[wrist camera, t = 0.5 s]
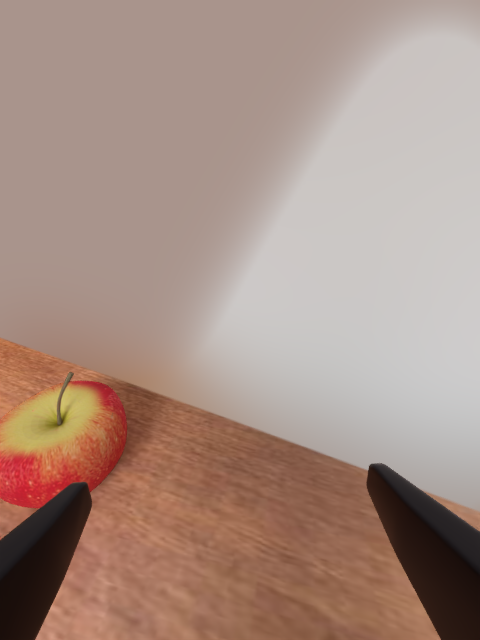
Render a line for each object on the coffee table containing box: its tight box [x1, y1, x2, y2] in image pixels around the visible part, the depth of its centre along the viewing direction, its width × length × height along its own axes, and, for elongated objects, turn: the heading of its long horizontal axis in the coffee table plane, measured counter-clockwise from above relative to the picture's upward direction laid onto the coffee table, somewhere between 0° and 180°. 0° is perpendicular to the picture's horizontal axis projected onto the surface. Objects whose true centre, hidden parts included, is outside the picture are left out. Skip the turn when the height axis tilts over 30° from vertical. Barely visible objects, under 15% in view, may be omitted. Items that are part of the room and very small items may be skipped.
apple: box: [0, 372, 127, 508], centre depth 17 cm, size 8×8×10 cm
